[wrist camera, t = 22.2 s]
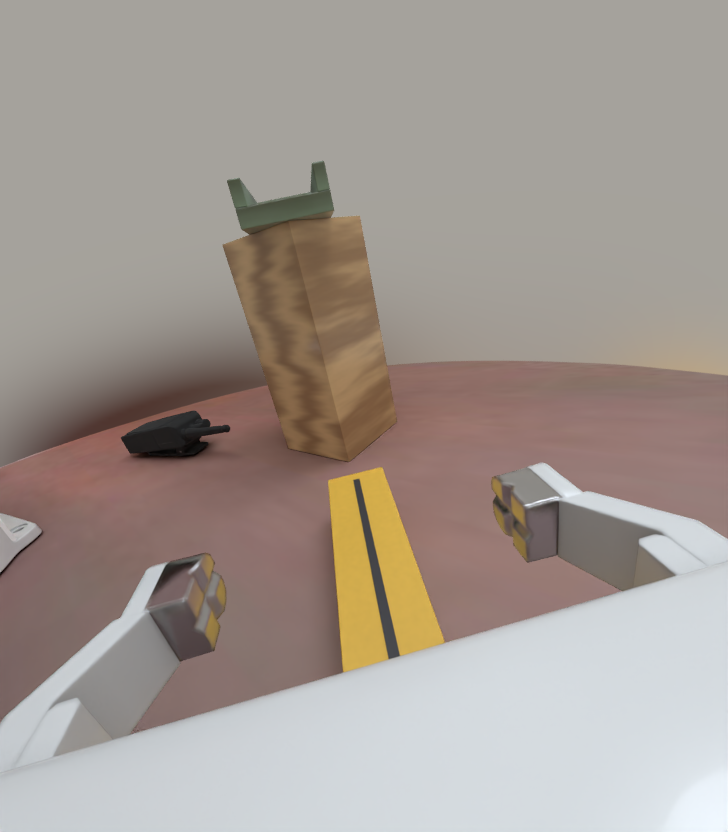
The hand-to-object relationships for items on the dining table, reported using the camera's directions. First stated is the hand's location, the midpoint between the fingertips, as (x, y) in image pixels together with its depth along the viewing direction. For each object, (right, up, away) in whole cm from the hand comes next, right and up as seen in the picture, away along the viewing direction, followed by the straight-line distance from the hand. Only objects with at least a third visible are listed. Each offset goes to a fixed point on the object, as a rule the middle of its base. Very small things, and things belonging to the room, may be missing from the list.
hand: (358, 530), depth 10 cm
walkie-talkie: (-24, -2, +40) cm, 47 cm away
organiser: (-2, +1, +35) cm, 35 cm away
